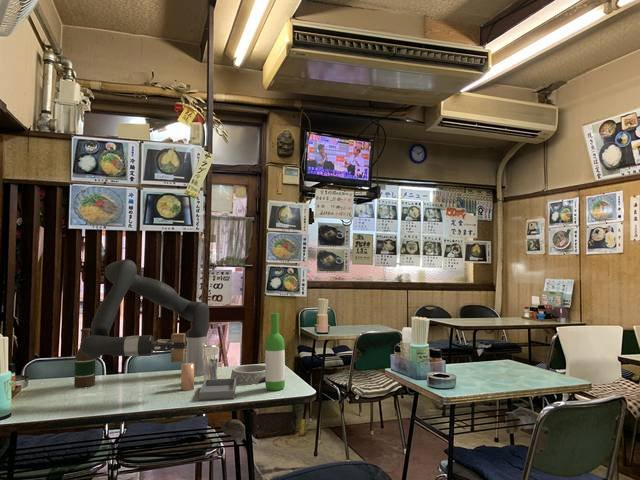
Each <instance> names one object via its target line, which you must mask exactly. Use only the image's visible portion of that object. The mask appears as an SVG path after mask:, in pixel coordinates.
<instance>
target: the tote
mask: <svg viewBox="0 0 640 480" xmlns="http://www.w3.org/2000/svg"><path fill="white" fill-rule="evenodd" d="M203 381H204V380H203ZM236 389H237V384H236V378H231V377H230V378H218V379H207V380H205V381H204V382H203V384H202V385H201V387H200V390H199V392H198V401H218V400H220V401H221V400H234V399H235V395H236V391H237V390H236Z"/></svg>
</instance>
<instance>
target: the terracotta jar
mask: <svg viewBox="0 0 640 480" xmlns="http://www.w3.org/2000/svg"><path fill="white" fill-rule="evenodd" d="M180 368H181V369H180V376H181V377H180V390H181V391H184V392H185V391H186V392H188V391H193V390H194V389H195V376H194V363H186V362H185V363H184V362H182V363H181V367H180Z"/></svg>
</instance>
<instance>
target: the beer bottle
mask: <svg viewBox="0 0 640 480" xmlns="http://www.w3.org/2000/svg"><path fill="white" fill-rule="evenodd" d="M80 332H81V333H80V334H81V335H80V342H81V341H82V340H83V339H84V338H86V337H88V336H91V332H92V330H91V327H86V328H85V327H83V328H81V329H80ZM73 379H74V381H73V382H74V388H76V387H77V388H76V389H85V387H87V388H90V387H91V386H92V387H94V386H95V384H96V359H91V358H89V357H87V356H86V355H85V354H84V353H83V352H82V351H81V349H80V347H79V348H78V350H77V351H76V353H75V356H74V377H73Z"/></svg>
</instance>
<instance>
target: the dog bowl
mask: <svg viewBox="0 0 640 480" xmlns="http://www.w3.org/2000/svg"><path fill="white" fill-rule="evenodd" d="M230 374H231V375H230V378H236V385H237V384H240V385H239V386H253V385H252V384H256V385H258V384H259V383H260V382H263V381H266V380H265V364H244V365H238V366H235V367H233V368H232V370H231V373H230Z"/></svg>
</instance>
